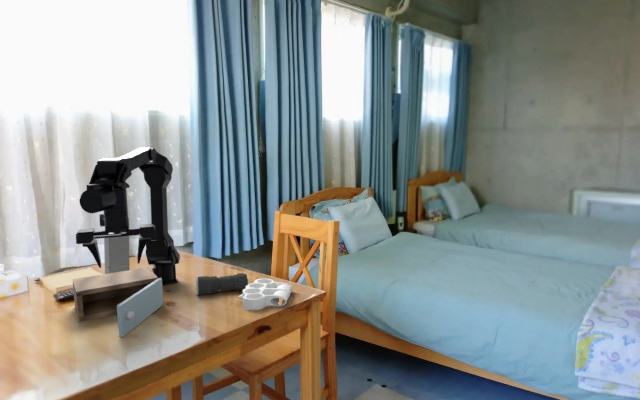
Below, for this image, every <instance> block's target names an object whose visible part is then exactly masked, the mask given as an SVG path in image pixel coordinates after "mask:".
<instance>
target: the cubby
mask: <svg viewBox="0 0 640 400" xmlns="http://www.w3.org/2000/svg"><path fill="white" fill-rule="evenodd" d="M157 279H158V277H157V276H156V275H155V274H154V273H153V272H152V268H151V269H150V267H149V266H148V267H141V268H135V269H129V270H127V271H121V272H115V273H109V274H105V273H104V274H98V275H97V274H96V275H92V276H85V277H79V278H73V279H72V289H73V290H72V291H73V299H74V307H75V312H76V315H77V320H78V322H79V323H80V322H84V321H89V320H95V319H99V318H103V317H108V316H113V315H117V305H119V304H120V303H122V302H123V301H125V300H126V299H128V298H129V297H131V296H132V295H134V294H135V293H137V292H138V291H140V290H141V289H143V288H144V287H146V286H147V285H149V284H150V283H152V282H153V281H155V280H157Z"/></svg>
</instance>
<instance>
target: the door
mask: <svg viewBox="0 0 640 400" xmlns="http://www.w3.org/2000/svg"><path fill="white" fill-rule="evenodd" d="M163 293H164V292H163V285H162V278H158V279H157V280H155V281H153V282H152V283H150V284H149V285H147V286H146V287H144V288H143V289H141V290H140V291H138V292H137V293H135V294H134V295H132V296H131V297H129V298H128V299H126V300H125V301H123V302H122V303H120V304H119V305H117V314H116V315H117V328H118V337H120V338H121V337H123V338H124V337H125V336H126V335H127V334H128V333H130V332H132V331H133V330H134V329H135V328H137V326H138V325H140V324H142V322H143V321H145V320H146V319H147V318H148V317H150V316H151V315H152V314H154V313H155V312H156V311H157V310H159V308H161V307H162V306H164V294H163Z"/></svg>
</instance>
